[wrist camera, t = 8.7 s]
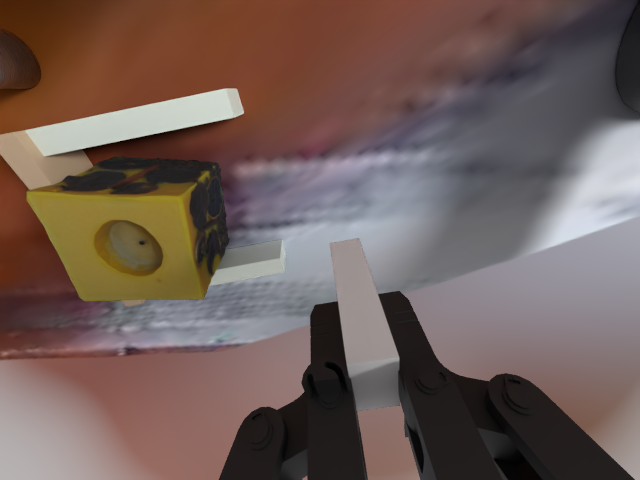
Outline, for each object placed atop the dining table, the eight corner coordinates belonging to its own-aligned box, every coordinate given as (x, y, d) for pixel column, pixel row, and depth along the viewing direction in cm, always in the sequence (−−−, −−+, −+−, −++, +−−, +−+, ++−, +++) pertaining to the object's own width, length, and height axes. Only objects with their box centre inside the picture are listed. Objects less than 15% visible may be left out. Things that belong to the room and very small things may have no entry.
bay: (236, 88, 22) (221, 88, 18) (286, 252, 32) (283, 278, 27) (45, 128, 23) (-14, 137, 19) (149, 277, 32) (126, 306, 28)
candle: (143, 242, 30) (79, 304, 21) (112, 154, 24) (12, 189, 16) (231, 244, 31) (205, 304, 22) (220, 160, 25) (180, 196, 17)
